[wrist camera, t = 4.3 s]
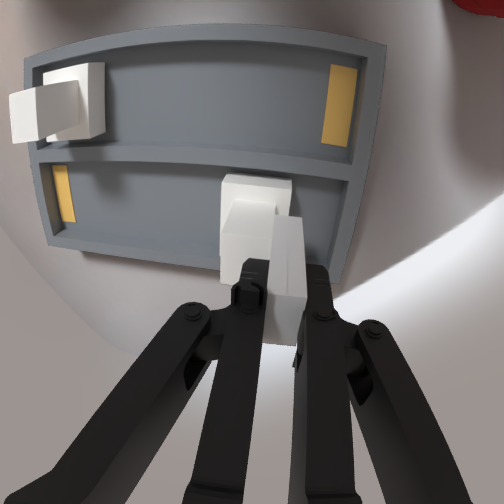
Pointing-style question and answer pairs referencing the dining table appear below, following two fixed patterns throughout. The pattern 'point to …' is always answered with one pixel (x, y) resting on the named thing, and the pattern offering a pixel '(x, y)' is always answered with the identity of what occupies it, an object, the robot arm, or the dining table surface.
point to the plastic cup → (483, 7)
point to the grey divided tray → (210, 138)
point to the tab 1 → (61, 106)
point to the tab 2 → (249, 219)
